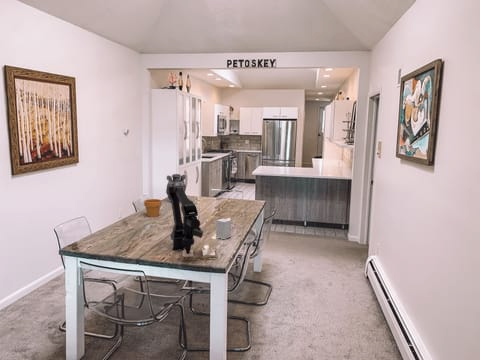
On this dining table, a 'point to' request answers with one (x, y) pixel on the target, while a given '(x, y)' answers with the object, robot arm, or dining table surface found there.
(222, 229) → the supplement box
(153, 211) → the flower pot
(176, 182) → the decorative vase
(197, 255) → the ticket board
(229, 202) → the dining table surface
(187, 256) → the stub
